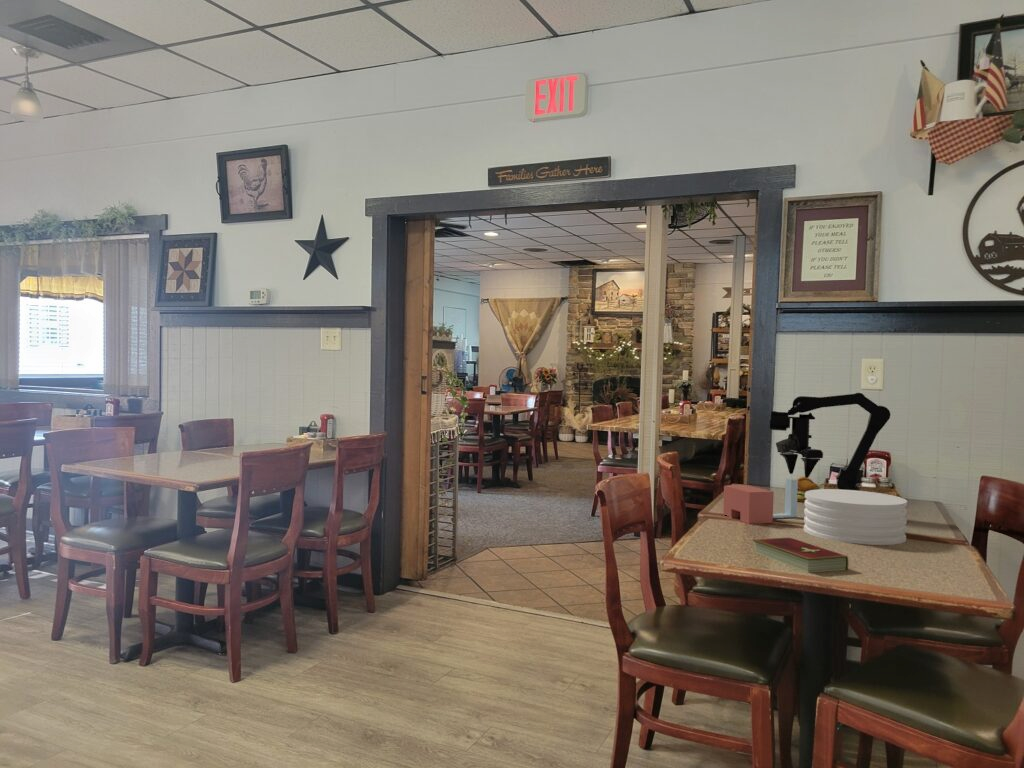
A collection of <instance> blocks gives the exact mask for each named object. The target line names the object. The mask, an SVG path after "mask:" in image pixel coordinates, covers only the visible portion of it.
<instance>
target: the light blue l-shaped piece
mask: <svg viewBox="0 0 1024 768" xmlns="http://www.w3.org/2000/svg"><path fill="white" fill-rule="evenodd" d="M797 479H798V478H797ZM797 479H796V478H785V490H784V492H785V493H784V495H785V496H784V513H783V512H782V513H781V512H780V513H773V519H780V518H781V519H784V518H797V517H798V515H797V514H798V501H797V491H798V480H797Z"/></svg>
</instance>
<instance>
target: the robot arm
mask: <svg viewBox="0 0 1024 768" xmlns="http://www.w3.org/2000/svg"><path fill="white" fill-rule="evenodd" d="M851 405H858V406H860V407H861V408H862V409H863V410H865V411H866V412H867V413H869V417H868V418H867V419H868V421H867V423H866V428H865V431H863V435H862V437H861V438H860V441H859V443H858V444H857V447H856V449H855V451H854V453H853V455H851V456H852V457H851V458H850V461H849V463H848V465H846V466H845V468H844V467H843V466H840V469H839V472H838V474H837V475H836V476H835V478H836V486H837V489H841V490H856V491H862V490H861V488H860V487H859V486H858V485H857V481H858V477H859V474H860V473H859V472H860V469H861V467H862V465H863V464H864V461H865V459H866V457H867V455H868V453H869V452H870V449H871V447H872V445H873V443H874V442H875V439H876V438H877V435H879V432H880V431H881V430H883V428H884V427H885V426H886V424H887V423H888V421H889V420H890V419H891V418H890V417H891V411H890V410H889V409H888V407H886V406H884V405H877V404H876V403H875V402H874V401H872V400H871V399H869V398H868V397H867V396H866V395H865V394H863V393H862V392H856V393H848V394H840V395H838V394H837V395H829V396H820V397H819V396H804V395H803V396H802V395H800V396H796V397H795V398H794V399H793V401H792V406H791V408H790V409H788V410H787V412H785V411H775V410H772V411H771V412H770V419H769V430H770V431H784V432H785V431H787V429H790V428H791V433H789V434H788V435H787V438H786V439H781V440H780V441H777V442H775V446H776V449H777V453H779V455H780V456H781V457H783V458H784V460H785V464H786V467H787V469H788V472H789V473H788V474H790V475H793V474H794V471H795V468H796V464H797V460H798V458H799V455H801V458H800V459H801V461H802V462H803V465H804V466H803V467H804V468H803V469H804V470H803V471H804V477H806V478H809V477H810V475H811V474H812V472H813V471H814V468H815V467H816V465H817V463H819V461H821V459H824V452H823V450H822V449H816V448H812V446H810V445H809V443H810V442H809V441H810V439H812V435H811V434H810V420H812V421H813V420H816V417H815V416H814V415H813V413H812V412H811V411H814V410H818V409H822V408H831V407H839V406H841V407H842V406H851ZM807 412H809V413H808V414H804V413H807ZM798 413H799V414H798ZM796 414H798V416H794V415H796ZM791 419H792V420H791Z"/></svg>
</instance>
